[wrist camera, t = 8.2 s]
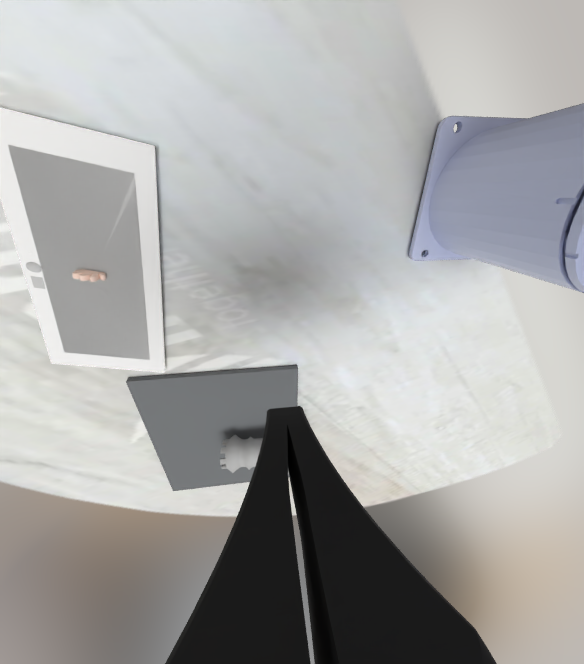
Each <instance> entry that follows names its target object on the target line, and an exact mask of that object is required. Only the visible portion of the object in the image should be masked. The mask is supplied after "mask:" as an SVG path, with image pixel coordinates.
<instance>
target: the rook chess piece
mask: <svg viewBox="0 0 584 664" xmlns="http://www.w3.org/2000/svg"><path fill="white" fill-rule="evenodd" d="M262 440H263V438H256V439H253V438H252V437H249V438H248V439H241V438H239V437H238V436H237V435H234V436H232V437H231V438H230V439H225V440H223V442H222V444H223V445H226V447H223V448H221V452H220V453H225V458H221V459H220V465H222V467H221V468H222V469H228V470H230V471H231V472H232V473H234V472H235V471H236V470H238V469H239V468H240V467H247V468H248V469H249V470H250V469H251V468H252V467H255V466H256V463H257V459H258V456H259V452H260V448H261V444H262ZM288 474H289V471H288Z"/></svg>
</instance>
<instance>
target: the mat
mask: <svg viewBox="0 0 584 664" xmlns="http://www.w3.org/2000/svg"><path fill="white" fill-rule="evenodd" d="M126 383H127V385H128V387H129V390H130V392H131V394H132V397H133V399H134V401H135V404H136V406H137V408H138V411H139V413H140V415H141V418H142V420H143V422H144V425H145V427H146V429H147V431H148V434H149V436H150V438H151V441H152V443H153V445H154V448H155V450H156V452H157V455H158V457H159V459H160V462H161V464H162V466H163V468H164V471H165V473H166V475H167V478H168V480H169V482H170V485H171V487H172V489H173V491H178V490H186V489H194V488H202V487H211V486H219V485H227V484H235V483H244V482H250V481H251V478H252V475H253V472H254V469H255V467H252V468H251V469H250V470H249V469H248V468H247V467H240V468H239V469H238V470H236V471H235V472H234V473H232V472H231V471H230V470H228V469H222V468H221V467H222V465H220V459H221V458H225V453H220V452H221V448H223V447H226V445H223V444H222V442H223V440H225V439H230V438H231V437H232V436H234V435H237V436H238V437H239V438H241V439H248V438H249V437H252V438H253V439H256V438H263V436H264V431H265V425H266V417H267V411H268V410H269V409H274V408H284V407H295V406H297V394H298V367H297V365H293V366H280V367H266V368H253V369H239V370H226V371H212V372H199V373H185V374H172V375H158V376H145V377H131V378H128V380H127V381H126ZM288 477H290V476H289V474H288Z"/></svg>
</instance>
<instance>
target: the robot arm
mask: <svg viewBox="0 0 584 664" xmlns="http://www.w3.org/2000/svg"><path fill="white" fill-rule="evenodd" d="M455 124H457V127H458V128H457V131H456V132H455V133H454V131H453V127H454V125H455ZM424 250H425V254H424V255H423V256H422V252H423V251H424ZM409 257H410V258H411V259H412V260H415V261H424V260H456V259H475V260H478V261H482V262H485V263H488V264H491V265H495V266H498V267H501V268H505V269H508V270H511V271H514V272H518V273H521V274H524V275H528V276H531V277H534V278H537V279H540V280H544V281H547V282H550V283H553V284H557V285H560V286H563V287H566V288H570V289H573V290H576V291H579V292H583V293H584V104H579V105H576V106H572V107H569V108H565V109H561V110H558V111H554V112H550V113H547V114H543V115H540V116H536V117H532V118H528V119H526V118H498V117H469V116H449V117H447V118H444V119H443V120H442V121H441V122H440V124H439V126H438V129H437V133H436V138H435V142H434V146H433V151H432V155H431V160H430V164H429V168H428V173H427V177H426V182H425V186H424V190H423V195H422V199H421V203H420V208H419V212H418V217H417V221H416V225H415V230H414V234H413V238H412V243H411V247H410V252H409ZM288 471H289V476H290V482H291V487H292V492H293V498H294V503H295V508H296V514H297V519H298V524H299V530H300V536H301V542H302V550H303V559H304V568H305V577H306V585H307V595H308V603H309V613H310V622H311V631H312V640H313V649H314V659H315V664H496V662H495V660H494V658H493V657H492V655H491V653H490V652H489V650H488V648H487V647H486V645H485V644H484V642H483V641H482V639H481V637H480V636H479V634H478V633H477V631H476V630H475V628H474V627H473V626H472V625H471V624H470V623H469V622H468V621H467V620H466V619H465V618H464V617H463V616H462V615H461V614H460V613H459V612H458V611H457V610H456V609H455V608H454V607H453V606H452V605H451V604H450V603H449V602H448V601H447V600H446V599H445V598H444V597H443V596H442V595H441V594H440V593H439V592H438V591H437V590H436V589H435V588H434V587H433V586H432V585H431V584H430V583H429V582H428V581H427V580H426V578H425V577H424V576H423V575H422V574H421V573H420V572H419V571H418V570H417V569H416V568H415V567H414V566H413V565H412V563H410V561H409V560H408V559H407V558H406V557H405V556H404V555H403V554H402V552H401V551H400V550H399V549H398V548H397V547H396V546H395V544H394V543H393V542H392V541H391V540H390V539H389V538H388V536H387V535H386V534H385V533H384V532H383V531H382V530H381V528H380V527H379V526H378V525H377V524H376V523H375V521H374V520H373V519H372V518H371V516H370V515H369V514H368V513H367V511H366V510H365V509H364V508H363V506H362V505H361V504H360V502H359V501H358V500H357V498H356V497H355V496H354V494H353V493H352V492H351V490H350V489H349V488H348V486H347V485H346V483H345V482H344V481H343V479H342V478H341V476H340V475H339V473H338V472H337V470H336V469H335V467H334V466H333V464H332V463H331V461H330V460H329V458H328V456H327V455H326V453H325V451H324V450H323V448H322V446H321V445H320V443H319V441H318V440H317V438H316V436H315V434H314V432H313V430H312V428H311V427H310V425H309V422H308V420H307V418H306V416H305V414H304V411H303V408H302V407H300V406H295V407H284V408H274V409H269V410H268V411H267V417H266V425H265V431H264V436H263V440H262V444H261V448H260V452H259V456H258V459H257V463H256V466H255V469H254V472H253V475H252V478H251V481H250V484H249V487H248V490H247V493H246V495H245V498H244V501H243V503H242V506H241V508H240V511H239V513H238V516H237V518H236V521H235V523H234V526H233V528H232V530H231V532H230V535H229V537H228V539H227V542H226V544H225V546H224V549H223V551H222V553H221V555H220V557H219V560H218V562H217V564H216V566H215V568H214V570H213V572H212V574H211V576H210V578H209V580H208V582H207V584H206V586H205V588H204V591H203V592H202V594H201V597H200V598H199V600H198V602H197V604H196V607H195V609H194V611H193V613H192V614H191V616H190V618H189V620H188V622H187V624H186V626H185V628H184V630H183V632H182V633H181V635H180V637H179V639H178V641H177V643H176V645H175V646H174V648H173V650H172V652H171V654H170V656H169V658H168V659H167V662H166V663H165V664H310V657H309V649H308V641H307V634H306V626H305V618H304V610H303V602H302V594H301V586H300V579H299V570H298V562H297V554H296V546H295V537H294V529H293V520H292V512H291V503H290V495H289V481H288Z"/></svg>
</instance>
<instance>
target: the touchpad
mask: <svg viewBox="0 0 584 664" xmlns="http://www.w3.org/2000/svg"><path fill="white" fill-rule="evenodd" d="M0 200H1V203H2V206H3V210H4V213H5V216H6V219H7V222H8V226H9V229H10V232H11V235H12V239H13V242H14V245H15V248H16V251H17V255H18V258H19V261H20V264H21V268H22V271H23V274H24V277H25V280H26V284H27V287H28V290H29V293H30V296H31V300H32V303H33V306H34V309H35V313H36V316H37V319H38V322H39V325H40V329H41V332H42V335H43V338H44V342H45V345H46V348H47V351H48V354H49V358H50V361H51V363H52V364H64V365H76V366H88V367H100V368H113V369H125V370H137V371H149V372H161V373H165V354H164V333H163V311H162V290H161V268H160V247H159V225H158V204H157V182H156V161H155V146H153V145H149V144H145V143H141V142H137V141H133V140H129V139H125V138H121V137H117V136H113V135H109V134H105V133H101V132H97V131H93V130H89V129H85V128H81V127H77V126H73V125H69V124H65V123H61V122H57V121H53V120H49V119H45V118H41V117H37V116H33V115H29V114H25V113H21V112H17V111H13V110H9V109H5V108H1V107H0Z"/></svg>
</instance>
